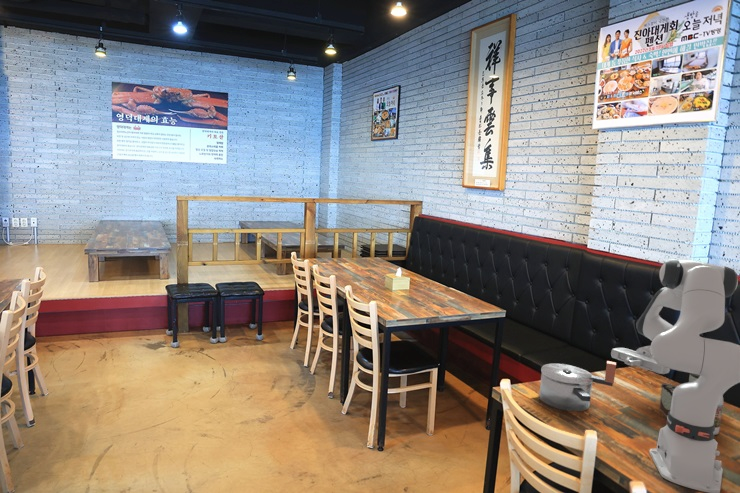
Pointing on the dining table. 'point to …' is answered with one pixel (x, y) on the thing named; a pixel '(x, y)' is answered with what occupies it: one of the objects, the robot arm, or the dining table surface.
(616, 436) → the dining table surface
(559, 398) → the cooker pot
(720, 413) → the milk bottle
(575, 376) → the lid
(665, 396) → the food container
